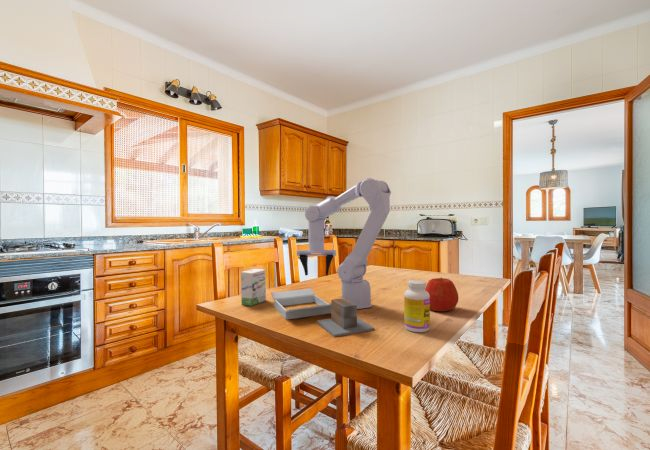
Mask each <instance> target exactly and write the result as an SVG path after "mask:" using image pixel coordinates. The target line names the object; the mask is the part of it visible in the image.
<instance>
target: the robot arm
mask: <svg viewBox="0 0 650 450" xmlns="http://www.w3.org/2000/svg"><path fill="white" fill-rule="evenodd" d="M391 194H392V191H391V189H390V187H389V185H388V183H387V182H386V181H384V180H378V179H374V178H371V177H368V178H365V179H363V180H362V181H359V182H357V183H356V184H355V185H353V186H352V187H351V188H349V189H347V190H346V191H344V192H343V193H340V195H337V196H333V195H332V196H330V195H329V196H327V197H326V198H325V199H324V200H322V201H320V202H317V203H316V205H309V206H308V207H307V208H306V209H305V212H304V213H305V214H304V216H305V219H306V220H307V221H308V225H307V227H308V249H297V250H296V257H298V258H299V261H300V262H301V265H302V267H303V271H304V276H308V275H309V272H308V271H309V270H308V268H309V267H308V266H309V265H308V262H309V261H308V260H309V258H308V257H309V256H321V257H322V256H324V257H325V276H329V272H330V271H329V270H330V266H331V264H332V261H333V258H334V257H336V256H337V250H336V249H325V231H324V229H325V221H326V220H327V217H329V216H332V215H333V214H335V213H337V212H339V211H340V210H341V206H343V205H345V204H348V203H351V201H354V200H356V199H358V198H363V199H364V200H365V201H366V202H367V204H368V206H369V208H370V213H369V215H368V217H367V220H366V221H365V224H364V226H363V228H362V230H361V232H360V234H359V236H358V239H357V241H356V242H355V245H354V246H353V248H352V250H351V252H350V253H349V254H348V255H347V256H346V257H345V258H344V261H343V262H341V263H340V264H339V266H338V267H337V276H338V278H339V279H340V282H341V298H344V299H346V300H348V301H350V302H352V303H354V304H356V305H357V310H361V309H367V308H368V309H369V308H372V307H373V305H372V303H371V302H372V300H371V299H372V297H371V292H372V291H371V290H372V289H371V286H370V283H369V281H368V280H367V279H364V276H365V274H366V273H367V265H368V263H369V260H368V256H369V254H370V252H371V250H372V248H373V246H374V244H375V242H376V240H377V238H378V236H379V234H380V231H381V230H382V228H383V226H384V224H385V222H386V220H387V217H388V215H389V214H390V207H391V205H390V204H391V203H390V197H391Z"/></svg>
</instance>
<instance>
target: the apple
mask: <svg viewBox="0 0 650 450" xmlns="http://www.w3.org/2000/svg"><path fill="white" fill-rule="evenodd" d="M455 285H456V284H454V282H453V281H452V280H451V279H449V278H442V277H437V278H431V279H429V280H428V282H427V283H426V288H425V291H427V292H428V293H429V295H430V311H432V312H449V311H452V310H454V309H455V308H456V307H457V305H458V303H459V292H458V290H457V287H456V286H455Z"/></svg>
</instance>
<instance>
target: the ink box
mask: <svg viewBox="0 0 650 450" xmlns="http://www.w3.org/2000/svg"><path fill="white" fill-rule="evenodd" d="M266 274H267V273H266V269H262V268H251V269H248V270H244V271H241V272H240V283H241V285H240V289H241V290H240V293H241V299H240V300H241V305H243V306H249V307H252V306H255V305H258V304H260V303H263V302H266V301H267V290H266V289H267V288H266V287H267V285H266V281H267V280H266V277H267V276H266Z"/></svg>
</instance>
